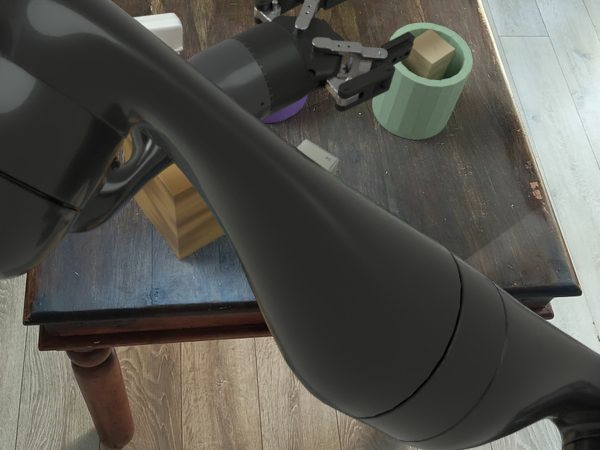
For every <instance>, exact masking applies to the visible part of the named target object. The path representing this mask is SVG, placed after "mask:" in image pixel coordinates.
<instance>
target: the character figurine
mask: <svg viewBox="0 0 600 450" xmlns="http://www.w3.org/2000/svg"><path fill="white" fill-rule="evenodd" d="M132 17H133V18H134V19H136V20H137V21H138V22H140V23H141V24H142V25H143V26H145V27H146V28H147V29H148V30H149V31H151V32H152V33H153V34H154V35H156V36H157V37H158V38H159V39H161V40H162V41H163V42H164V43H166V44H167V45H168V46H169V47H171V48H172V49H173V50H174V51H176V52H177V53H178V54H179V55H180V56H181V53H180V52H183V51H184V31H183V30H184V27H183V24H182V21H181V19H180V18H179V17H178V16H177V14H176V13H175V12H168V13H158V14H149V15H141V16H132Z"/></svg>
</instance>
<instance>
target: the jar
mask: <svg viewBox="0 0 600 450" xmlns="http://www.w3.org/2000/svg"><path fill="white" fill-rule="evenodd" d="M429 29H432V30H433V31H434V32H435V33H436V34H438V35H439V36H440V37H441V38H443V39H444V40H445V41H446V42H448V43H449V44H450V45H451V46H452V47H454V48H455V50H454V53H453V55H452V58H451V60H450V63H449V65H448V67H447V70H446V72H445V75H444V77H443V80H430V79H426V78H423V77H419V76H417V75H415V74H414V73H412V72H410V71H409V70H408V69H407V68H406V67H405V66H404V65H403V64H402V63H401V62H402V61H401V62H399V63H397V64H395V65H393V66H394V67H395V73H394V76H393V79H392V82H391V85H390V89H389V90H388V91H386V92H384V93H382V94H380V95H378V96H376V97H374V98H372V100H371V107H372V112H373V115H374V117H375V119H376V121H377V122H378V123H379V125H380V126H382V127H383V128H384V129H385V130H386V131H388V132H389V133H391V134H393V135H394V136H397V137H400V138H402V139H406V140H413V141H414V140H415V141H416V140H418V141H419V140H420V141H421V140H426V139H430V138H433V137H434V136H437V135H438V134H440V133H441V132H442V131H443V130H444V129H445V127H446V126H447V123H448V122H449V120H450V118H451V116H452V114H453V112H454V109H455V107H456V104H457V103H458V101H459V98H460V96H461V94H462V92H463V89H464V88H465V85H466V83H467V80H468V78H469V76H470V74H471V71H472V68H473V65H474V64H473V63H474V58H473V53H472V50H471V48H470V46H469V45H468V43H467V41H466V40H464V39H463V38H462V37H461V36H460V35H459V34H458V33H457V32H455V31H453V30H451V29H450V28H448V27H446V26H444V25H439V24H436V23H432V22H415V23H409V24H406V25H404V26H402V27H400V28H398V29H396V31H395V32H394V33H393V34H392V35H391V36H390V39H389V41H390V40H392V39H394V38H396V37H398V36H400V35H402V34H404V33H406V32H408V31H409V32H411V33H412V34H413V35H414V36H415V38H417V37H418V36H420V35H421V34H423V33H424V32H426V31H428V30H429Z"/></svg>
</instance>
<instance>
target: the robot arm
mask: <svg viewBox="0 0 600 450" xmlns="http://www.w3.org/2000/svg"><path fill="white" fill-rule="evenodd" d="M347 1H348V0H254V7H253V22H254V23H255V24H256V25H254V26H251V27H250V28H248V29H246V30H243V31H241V32H239V33H236V34H235V35H232V36H230V37H228V38H226V39H224V40H222V41H219V42H218V43H215V44H213V45H211V46H208V47H207V48H204V49H203V50H201V51H199V52H197V53H196V54H194V55H193V56H191V57H190V58H188V59H186V58H185V57H183V56H182V55H181V54H180V55H179V54H178V53H177V52H176V51H174V50H173V49H172V48H171V47H169V46H168V45H167V44H166V43H164V42H163V41H162V40H161V39H159V38H158V37H157V36H156V35H154V34H153V33H152V32H151V31H149V30H148V29H147V28H146V27H145V26H143V25H142V24H141V23H140V22H138V21H137V20H136V19H134V18H133V17H134V16H133V15H131V14H129V13H128V12H127V11H126V10H124V9H123V8H122V7H120V6H119V4H116V3H115V2H114V1H112V0H0V282H1V281H7V280H12V279H15V278H19V277H21V276H23V275H25V274H28V273H29V272H31V271H32V270H34V269H35V268H37V267H38V266H40V265H41V264H42V263H43V262H44V261H45V260H46V259H47V258H48V257H49V256H50V255H51V254H52V253H53V251H55V250H56V249H57V248H58V246H59V245H60V244H61V243H62V241H64V239H65V238H66V236H67V235H68V234H73V235H74V234H76V235H77V234H78V235H79V234H86V233H90V232H92V231H95V230H98V229H99V228H102V227H103V226H104V225H106V224H107V223H109V222H110V221H111V220H112V219H113V218H114V217H115V216H117V215H118V214H119V213H120V212H121V211H122V210H123V209H124V208H125V207H126V206H127V205H128V204H129V203H130V202H131V201H132V200H134V197H135V195H136V194H137V193H138V192H139V191H140V190H141V189H143V188H144V187H145V186H146V185H147V184H148V183H149V182H150V181H152V180H153V179H154V178H155V177H156V176H157V175H159V174H160V173H161V172H163V171H164V170H165V169H167V168H168V167H170V166H171V165H173V164H175V165H176V166H177V167H178V168H179V169H180V170H181V171H182V173H183V174H184V175H185V176H186V178H187V179H188V180H189V182H190V183H191V184H192V186H193V187H194V188H195V189H196V191H197V192H198V193H199V195H200V196H201V197H202V199H203V200H204V202H205V203H206V205H207V206H208V208H209V209H210V211H211V212H212V214H213V215H214V217H215V219H216V220H217V222H218V224H219V225H220V227H221V229H222V230H223V232H224V236H225V238H226V239H227V241H228V242H229V245H230V246H231V248H232V250H233V252H234V255H235V256H236V258H237V260H238V262H239V264H240V267H241V269H242V271H243V274H244V276H245V278H246V281H247V283H248V286H249V287H250V290H251V292H252V294H253V297H254V299H255V302H256V303H257V305H258V308H259V310H260V312H261V315H262V317H263V319H264V321H265V323H266V326H267V329H268V330H269V332H270V334H271V336H272V338H273V341H274V342H275V344H276V346H277V348H278V351H279V352H280V354H281V356H282V358H283V360H284V361H285V363H286V365H287V366H288V367H289V369H290V370H291V372H292V373H293V375H294V376H295V378H297V381H299V383H300V384H301V385H302V386H303V387H304V388H305V389H306V391H307V392H309V394H310V395H312V396H313V397H314V398H316V399H317V400H318V401H320V403H322V404H324V405H326V406H328V407H329V408H331V409H334V410H336V411H338V412H339V413H342V414H343V415H345V416H347V417H349V418H352V419H353V420H355V421H357V422H360V423H361V424H363V425H366V426H367V427H369V428H372V429H374V430H376V431H378V432H379V433H382V434H384V435H385V436H388V437H390V438H391V439H394V440H396V441H398V442H401V443H402V444H405V445H407V446H410V447H412V448H414V449H419V450H470V449H474V448H479V447H482V446H485V445H488V444H491V443H493V442H496V441H498V440H501V439H503V438H506V437H509V436H511V435H513V434H516V433H517V432H520V431H521V430H524V429H526V428H529V427H530V426H532V425H534V424H536V423H538V422H541V421H542V420H549V421H550V423H552V424H553V425H554V426H555V427H556V428H557V430H558V433H559V434H560V440H561V450H600V353H598V352H597V351H596V350H593V349H591V348H590V347H588V346H587V345H585V344H584V343H582V342H581V341H579V340H578V339H576V338H575V337H573V336H572V335H570V334H568V333H567V332H566V331H563V330H562V329H561V328H559V327H558V326H556V325H555V324H553V323H552V322H550V321H548V320H547V319H545V318H544V317H542V316H541V315H539V314H538V313H536V312H535V311H533V310H532V309H531V308H529V307H527V306H526V305H525V304H523V303H522V302H520V301H519V300H518V299H516V298H515V297H514V296H512V295H511V294H510V293H509V292H508V291H506V290H505V289H504V288H502V287H501V286H500V285H499V284H497V283H496V282H495V281H494V280H492V279H491V278H489V277H488V276H487V275H486V274H484V273H483V272H482V271H481V270H479V269H478V268H476V267H474V266H473V265H471V264H470V263H469V262H467V261H466V260H464V259H463V258H462V257H460V256H459V255H457V254H456V253H454V252H453V251H451V250H450V249H448V248H447V247H446V246H444V245H443V244H442V243H440V242H438V241H437V240H435V239H434V238H432V237H430V236H429V235H428V234H426V233H425V232H423V231H421V230H420V229H418V227H415V226H413V224H411V223H409V222H407V221H406V220H404V219H403V218H401V217H400V216H399V215H397V214H396V213H394V212H392V211H390V210H389V209H387V208H386V207H384V206H383V205H381V204H379V203H378V202H376V201H375V200H374V199H372V198H371V197H369V196H367V195H366V194H364V193H363V192H362V191H360V190H358V189H357V188H355V187H354V186H352V185H350V184H349V183H347V182H346V181H345V180H343V179H341V178H340V177H338V176H337V175H336V174H335V175H334V174H332V173H331V172H329V171H328V170H326V169H325V168H324V167H322V166H321V165H319V164H318V163H317V162H315V161H314V160H312V159H311V158H310V157H308V156H307V155H305V154H304V153H303V152H302V151H300V150H299V149H298V148H297V147H296V146H295V145H293V143H291V142H290V141H288V140H287V139H286V138H284V137H283V136H282V135H281V134H279V133H278V132H277V131H275V130H274V129H273V128H272V127H270V126H269V125H268V124H267V123H264V122H263V121H261V120H263V119H265V118H267V117H268V116H270V115H272V114H274V113H276V112H278V111H280V110H282V109H284V108H286V107H288V106H289V105H291V104H293V103H295V102H297V101H299V100H301V99H302V98H304V97H305V96H306V95H307V94H308V95H309V94H310V93H311V92H313V91H315V90H321V89H322V90H324V89H326V90H327V91H328V92H329V93H330V94H331V96H332V97H333V98H334V99H335V102H334V109H335V110H336V111H338V112H346V111H349V110H351V109H352V108H354V107H356V106H359V105H361V104H363V103H365V102H367V101H370V100H371V99H372V100H373V98H374V97H376V96H378V95H380V94H382V93H384V92H386V91H388V90H389V89H390V85H391V82H392V79H393V76H394V73H395V67H394V66H393V65H395V64H397V63H399V62H401V61H402V60H404V59H406V58H408V57H409V55H410V53H411V50H412V47H413V44H414V43H413V42H414V39H415V36H414V35H413V34H412V33H411V32H409V31H408V32H406V33H404V34H402V35H400V36H398V37H396V38H394V39H392V40H390V39H389V41H386V42H385V43H382V44H381V45H380V47H375V46H373V47H372V46H364V45H362V43H361V42H359V41H348V40H347V41H346V40H345V38H343V36H342V35H341V34H339V33H338V32H336V31H335V30H333V29H332V27H331V26H330V24H329V22H327V20H325V18H321V19H320V18H318V17H319V14H320V11H321V9H323V11H325V12H326V11H328V10H330V9H332V8H334V7H336V6H338V5H341V4H343V3H345V2H347ZM299 6H301V8H300V11H299V14H298V15H297V16H296V15H285V13H287V12H289V11H291V10H294V9H295V8H297V7H299ZM344 56H350V57H349V58H350V59H349V61H348V62H347V63H343V61H344ZM364 61H365V62H364ZM366 61H369V62H366ZM340 78H341V79H340ZM129 133H130V135H131V139H132V153H131V156H130V158H129V160H128V161H127V162H124V163H122V162H121V161H120V159H119V158H118V156H117V155H118V153H119V152H120V150H121V148H122V147H123V146H122V145H123V143H124V139H126V138H127V136H128V135H129Z"/></svg>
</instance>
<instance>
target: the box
mask: <svg viewBox="0 0 600 450" xmlns="http://www.w3.org/2000/svg"><path fill="white" fill-rule="evenodd" d="M296 148H298V149H299V150H300V151H302V152H303V153H304V154H305V155H307V156H308V157H310V158H311V159H312V160H314V161H315V162H317V163H318V164H319V165H321V166H322V167H324V168H325V169H326V170H328V171H329V172H331V173H332V174H334V175H335V176H336V173H337V169H338V166H339V162H340V159H339V158H338V157H336V156H335V155H333V154H332V153H330V152H329V151H327V150H326V149H324V148H323V147H321V146H320V145H317V144H316V143H314V142H312V141H311V140H309V139H307V138H305V139H304V140H303V141H302V142H301V143H300V144H299V145H298V146H297V147H296Z"/></svg>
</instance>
